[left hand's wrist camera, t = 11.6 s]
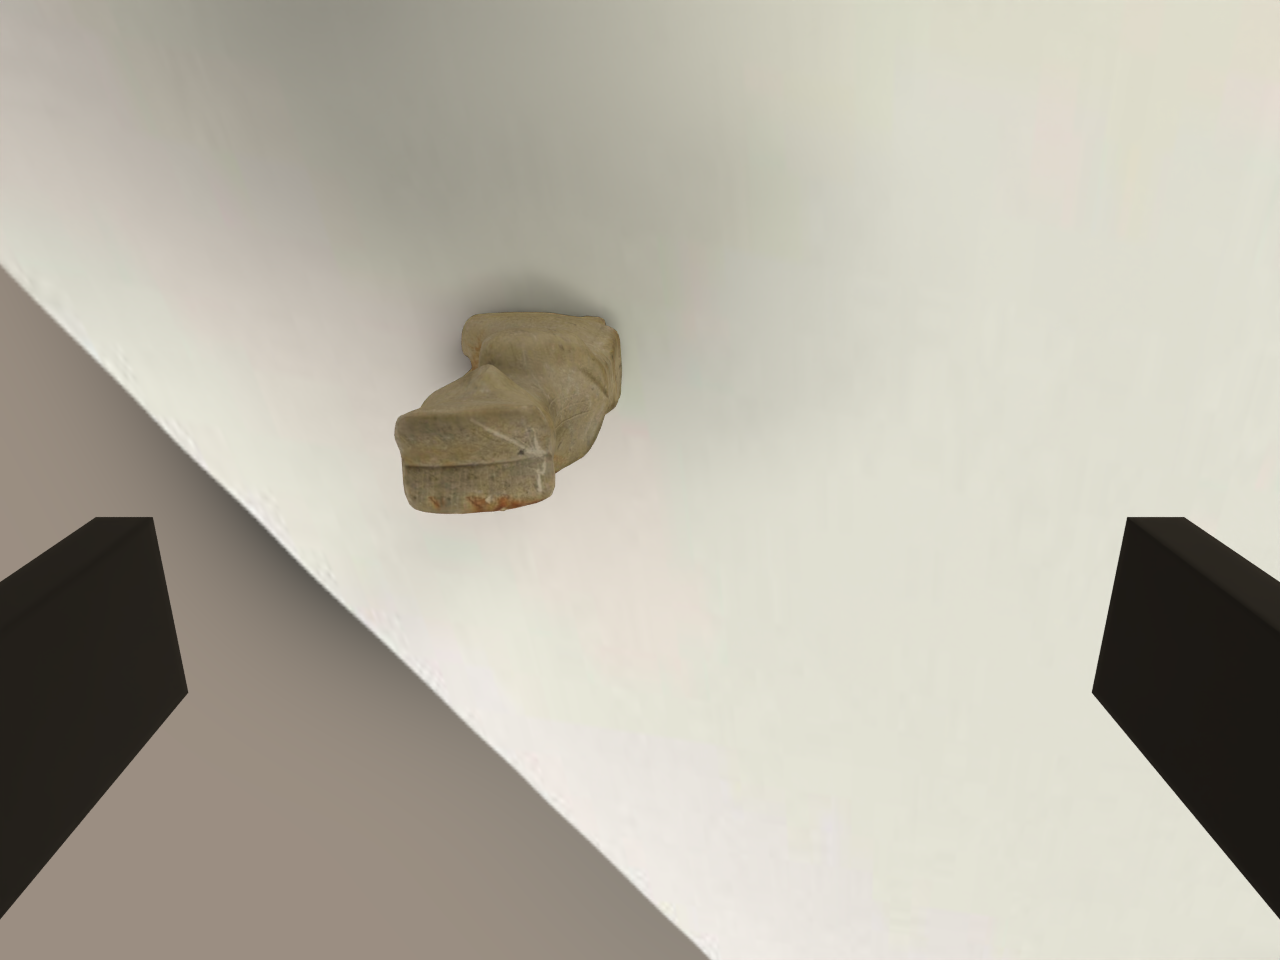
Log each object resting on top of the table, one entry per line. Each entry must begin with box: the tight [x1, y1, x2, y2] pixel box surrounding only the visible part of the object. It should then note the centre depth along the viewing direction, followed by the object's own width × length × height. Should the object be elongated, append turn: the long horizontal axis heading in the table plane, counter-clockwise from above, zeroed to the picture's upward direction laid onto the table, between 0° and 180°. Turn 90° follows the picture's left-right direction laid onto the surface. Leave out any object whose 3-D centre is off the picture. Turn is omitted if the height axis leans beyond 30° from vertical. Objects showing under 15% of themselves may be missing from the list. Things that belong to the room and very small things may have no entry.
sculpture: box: [394, 312, 622, 514], centre depth 35 cm, size 6×7×15 cm
